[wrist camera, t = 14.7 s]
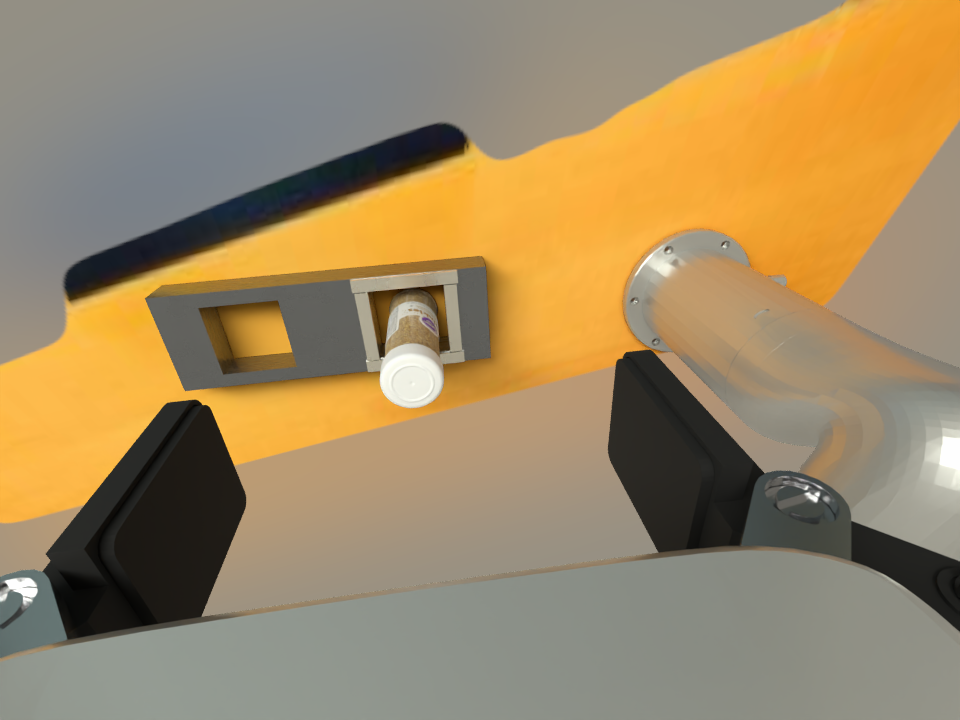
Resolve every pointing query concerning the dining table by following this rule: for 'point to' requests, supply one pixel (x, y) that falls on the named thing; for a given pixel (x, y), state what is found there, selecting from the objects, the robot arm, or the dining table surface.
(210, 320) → the rail
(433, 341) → the sprinkles bottle
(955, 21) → the dining table surface
